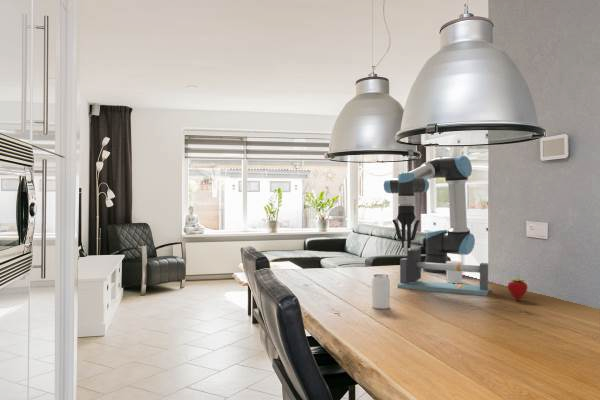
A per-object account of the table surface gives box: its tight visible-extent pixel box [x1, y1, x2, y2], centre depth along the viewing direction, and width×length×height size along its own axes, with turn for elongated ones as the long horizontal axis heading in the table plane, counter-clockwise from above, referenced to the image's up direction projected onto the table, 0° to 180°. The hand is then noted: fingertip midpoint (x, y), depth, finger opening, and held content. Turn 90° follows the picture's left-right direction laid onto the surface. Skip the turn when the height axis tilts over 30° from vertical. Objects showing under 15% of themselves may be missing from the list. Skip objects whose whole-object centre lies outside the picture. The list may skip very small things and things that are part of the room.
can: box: [371, 273, 391, 310], centre depth 170 cm, size 6×6×12 cm
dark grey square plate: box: [406, 248, 422, 282], centre depth 212 cm, size 3×14×14 cm, turn 152°
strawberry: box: [507, 274, 528, 301], centre depth 182 cm, size 6×8×10 cm
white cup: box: [445, 260, 464, 284], centre depth 222 cm, size 8×8×10 cm
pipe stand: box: [397, 257, 490, 296], centre depth 206 cm, size 38×14×12 cm, turn 62°
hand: (406, 255), depth 213 cm, fingers closed
